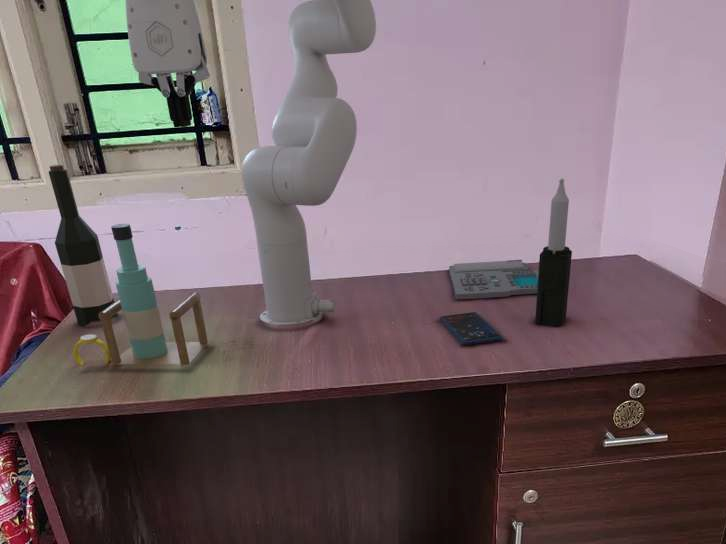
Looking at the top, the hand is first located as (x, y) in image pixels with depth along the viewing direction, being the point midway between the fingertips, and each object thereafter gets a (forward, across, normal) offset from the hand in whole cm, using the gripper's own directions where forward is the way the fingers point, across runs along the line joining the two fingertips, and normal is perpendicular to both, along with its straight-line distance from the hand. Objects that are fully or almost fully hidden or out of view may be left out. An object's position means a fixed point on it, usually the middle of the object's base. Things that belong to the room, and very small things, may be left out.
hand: (182, 126), depth 110 cm
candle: (+37, +59, +17) cm, 72 cm away
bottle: (+35, -9, -2) cm, 36 cm away
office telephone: (+37, +49, +43) cm, 75 cm away
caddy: (+37, -11, -2) cm, 39 cm away
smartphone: (+37, +44, +12) cm, 59 cm away
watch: (+37, -22, -7) cm, 44 cm away
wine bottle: (+37, -34, +19) cm, 54 cm away
